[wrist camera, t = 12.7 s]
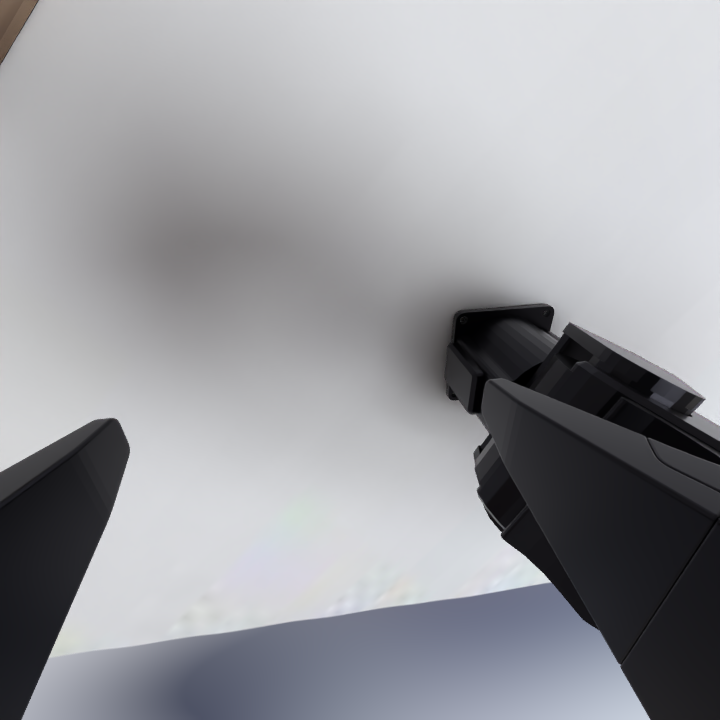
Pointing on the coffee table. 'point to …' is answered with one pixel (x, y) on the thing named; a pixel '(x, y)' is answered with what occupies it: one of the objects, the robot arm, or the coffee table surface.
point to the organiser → (12, 21)
